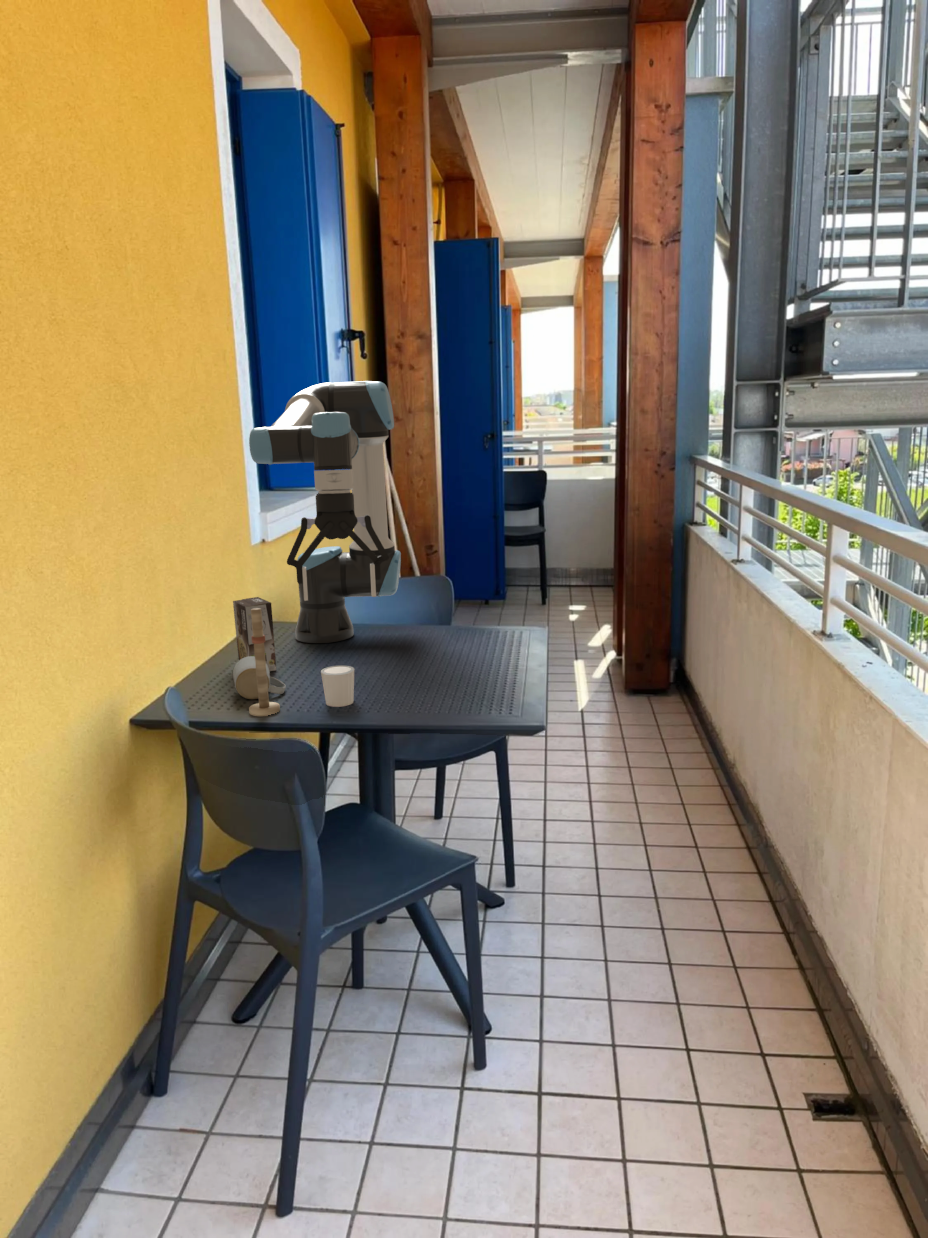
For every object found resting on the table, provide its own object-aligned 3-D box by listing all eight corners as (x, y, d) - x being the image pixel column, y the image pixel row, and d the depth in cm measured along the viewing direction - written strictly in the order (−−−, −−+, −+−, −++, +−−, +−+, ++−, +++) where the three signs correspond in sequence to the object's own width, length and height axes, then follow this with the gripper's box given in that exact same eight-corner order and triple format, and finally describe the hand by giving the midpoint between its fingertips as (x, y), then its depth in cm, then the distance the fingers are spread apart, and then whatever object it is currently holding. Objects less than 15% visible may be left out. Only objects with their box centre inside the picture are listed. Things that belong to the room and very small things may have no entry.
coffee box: (277, 670, 211) (272, 602, 207) (250, 675, 208) (244, 606, 204) (264, 661, 218) (258, 595, 215) (238, 666, 215) (232, 599, 211)
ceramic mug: (236, 703, 189) (233, 667, 187) (234, 691, 196) (231, 657, 194) (288, 698, 192) (285, 662, 190) (284, 686, 199) (282, 652, 197)
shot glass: (351, 695, 191) (349, 663, 190) (360, 704, 185) (358, 671, 183) (319, 699, 189) (317, 667, 187) (327, 709, 183) (324, 676, 181)
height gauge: (250, 707, 185) (241, 607, 180) (280, 705, 186) (272, 605, 181) (248, 717, 179) (239, 613, 175) (279, 715, 180) (271, 611, 175)
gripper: (269, 494, 175) (276, 603, 179) (399, 490, 179) (403, 597, 183) (271, 493, 182) (277, 598, 186) (395, 489, 187) (399, 592, 190)
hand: (340, 598), depth 184 cm, fingers open, 13 cm apart
